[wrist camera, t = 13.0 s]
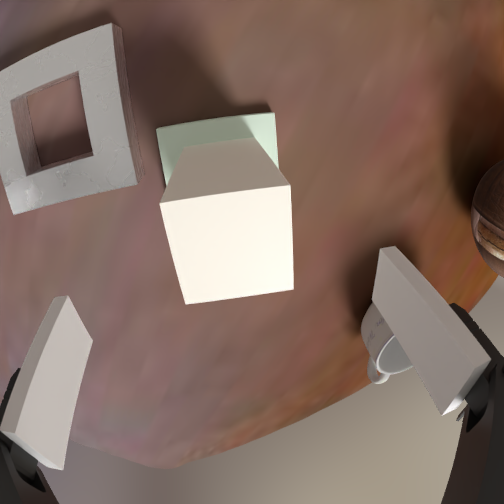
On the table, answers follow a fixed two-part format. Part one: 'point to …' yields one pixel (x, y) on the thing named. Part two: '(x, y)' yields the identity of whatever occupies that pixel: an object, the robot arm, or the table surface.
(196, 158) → the peg
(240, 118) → the pad
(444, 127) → the table surface
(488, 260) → the bronze metal ball
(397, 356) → the teacup
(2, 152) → the socket plate
